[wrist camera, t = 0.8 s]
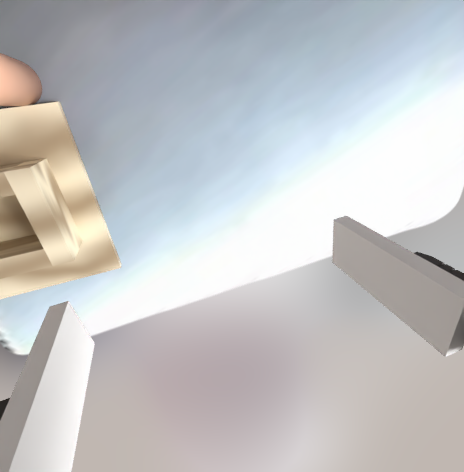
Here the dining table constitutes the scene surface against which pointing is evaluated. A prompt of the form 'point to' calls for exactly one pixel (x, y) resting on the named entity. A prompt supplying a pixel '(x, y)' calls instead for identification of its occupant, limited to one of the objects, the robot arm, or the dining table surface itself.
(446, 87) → the dining table surface
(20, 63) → the dowel
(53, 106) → the socket block
